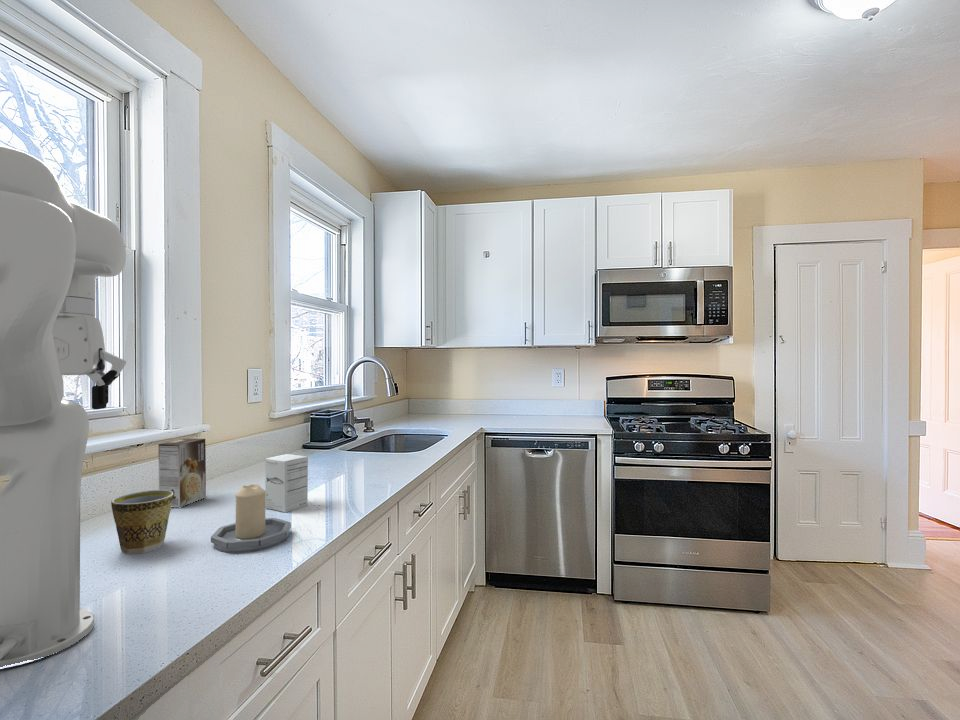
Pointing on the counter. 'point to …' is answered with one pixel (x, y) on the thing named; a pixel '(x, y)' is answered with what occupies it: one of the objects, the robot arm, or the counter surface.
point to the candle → (250, 512)
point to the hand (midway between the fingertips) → (66, 409)
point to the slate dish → (273, 535)
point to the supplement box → (286, 482)
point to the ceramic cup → (142, 519)
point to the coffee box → (183, 470)
